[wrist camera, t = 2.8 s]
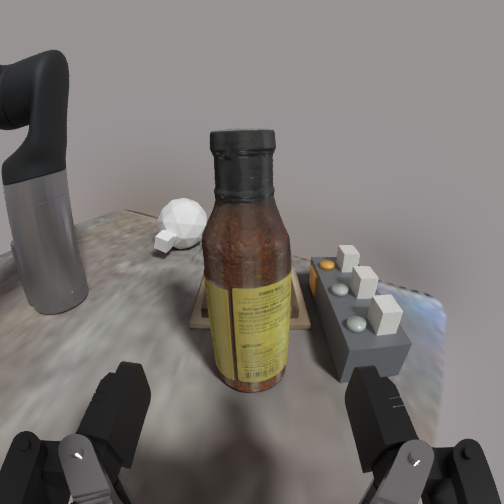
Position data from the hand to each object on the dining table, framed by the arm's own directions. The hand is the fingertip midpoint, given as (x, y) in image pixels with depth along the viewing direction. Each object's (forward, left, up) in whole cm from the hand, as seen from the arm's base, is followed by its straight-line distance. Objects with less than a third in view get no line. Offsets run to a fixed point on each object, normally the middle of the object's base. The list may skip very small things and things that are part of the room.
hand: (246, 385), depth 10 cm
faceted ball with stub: (-13, +39, -11) cm, 43 cm away
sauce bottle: (0, +11, -11) cm, 16 cm away
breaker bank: (+11, +18, -11) cm, 24 cm away
